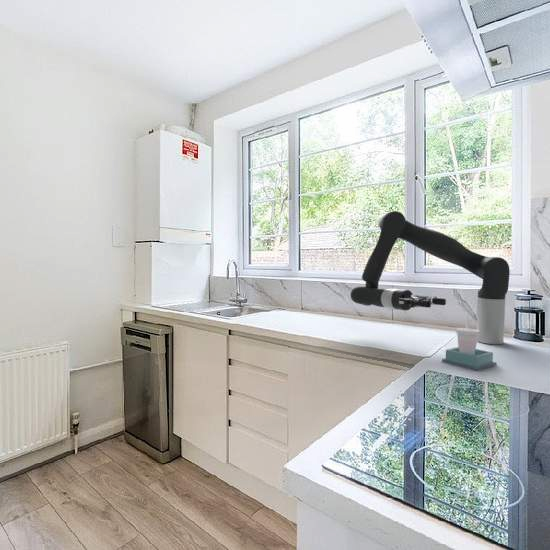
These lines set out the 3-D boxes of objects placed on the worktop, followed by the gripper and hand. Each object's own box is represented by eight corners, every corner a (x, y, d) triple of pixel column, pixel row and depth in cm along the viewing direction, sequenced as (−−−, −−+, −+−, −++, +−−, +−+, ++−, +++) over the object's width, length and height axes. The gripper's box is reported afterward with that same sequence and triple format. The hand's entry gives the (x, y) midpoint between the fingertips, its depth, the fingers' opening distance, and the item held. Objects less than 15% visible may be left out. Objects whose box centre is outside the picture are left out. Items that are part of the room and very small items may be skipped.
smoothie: (471, 358, 110) (473, 314, 110) (482, 364, 104) (485, 317, 103) (450, 357, 111) (452, 313, 110) (460, 363, 104) (462, 317, 104)
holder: (460, 356, 115) (461, 345, 115) (496, 365, 106) (497, 352, 106) (441, 361, 109) (442, 349, 109) (478, 371, 100) (478, 358, 100)
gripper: (384, 290, 126) (425, 293, 112) (408, 288, 133) (449, 290, 120) (384, 311, 126) (425, 316, 112) (408, 307, 134) (450, 312, 120)
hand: (437, 303), depth 116 cm, fingers open, 8 cm apart
